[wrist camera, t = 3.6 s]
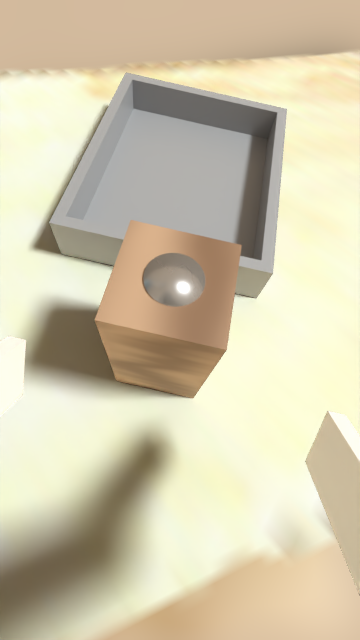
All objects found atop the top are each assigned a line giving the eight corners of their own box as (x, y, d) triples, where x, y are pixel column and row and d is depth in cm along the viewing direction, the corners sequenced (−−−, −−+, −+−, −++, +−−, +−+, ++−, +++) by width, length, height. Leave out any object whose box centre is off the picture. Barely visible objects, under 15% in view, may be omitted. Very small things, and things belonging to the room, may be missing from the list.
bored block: (116, 380, 24) (94, 319, 14) (136, 312, 26) (130, 218, 16) (193, 398, 24) (227, 349, 14) (205, 328, 26) (242, 243, 16)
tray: (61, 253, 28) (48, 222, 24) (127, 110, 37) (125, 72, 34) (256, 298, 28) (272, 273, 24) (273, 143, 38) (286, 109, 34)
